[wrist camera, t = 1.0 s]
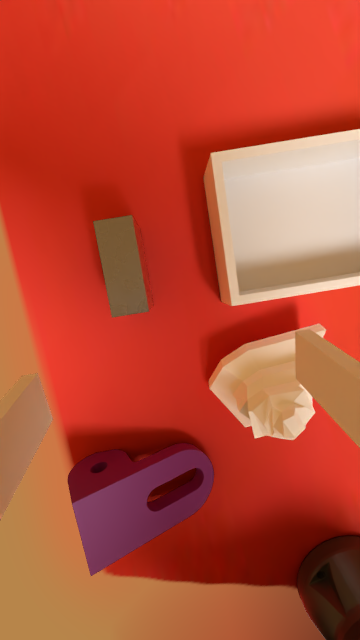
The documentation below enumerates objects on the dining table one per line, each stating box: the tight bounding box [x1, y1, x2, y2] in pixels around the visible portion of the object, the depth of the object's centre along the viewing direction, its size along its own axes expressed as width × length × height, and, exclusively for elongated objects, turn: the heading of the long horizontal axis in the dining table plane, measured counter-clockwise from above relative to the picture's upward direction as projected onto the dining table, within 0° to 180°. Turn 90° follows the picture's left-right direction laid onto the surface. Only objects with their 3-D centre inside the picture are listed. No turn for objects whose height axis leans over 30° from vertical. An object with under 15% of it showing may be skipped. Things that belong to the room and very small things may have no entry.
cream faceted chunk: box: [208, 324, 326, 440], centre depth 34 cm, size 12×15×14 cm
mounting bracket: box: [68, 443, 214, 576], centre depth 40 cm, size 9×8×18 cm
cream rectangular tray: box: [203, 129, 360, 306], centre depth 34 cm, size 16×22×7 cm
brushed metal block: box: [93, 215, 154, 317], centre depth 34 cm, size 10×4×8 cm, turn 9°
